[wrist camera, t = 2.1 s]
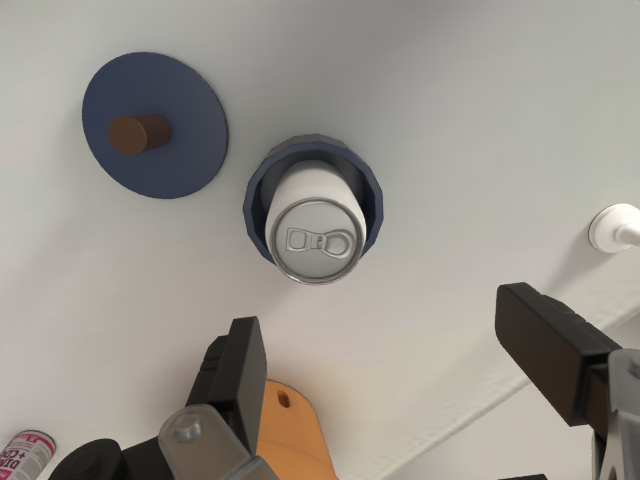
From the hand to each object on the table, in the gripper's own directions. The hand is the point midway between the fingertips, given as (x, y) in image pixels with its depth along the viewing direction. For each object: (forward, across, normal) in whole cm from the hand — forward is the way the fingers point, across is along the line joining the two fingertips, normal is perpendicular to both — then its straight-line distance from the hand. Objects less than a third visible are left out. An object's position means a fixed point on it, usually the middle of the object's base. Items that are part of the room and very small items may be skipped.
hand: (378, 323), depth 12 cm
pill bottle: (+22, +38, +26) cm, 51 cm away
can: (+22, +2, 0) cm, 22 cm away
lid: (+21, +14, -7) cm, 26 cm away
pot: (+22, +2, 0) cm, 22 cm away
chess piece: (+22, -27, +8) cm, 36 cm away
